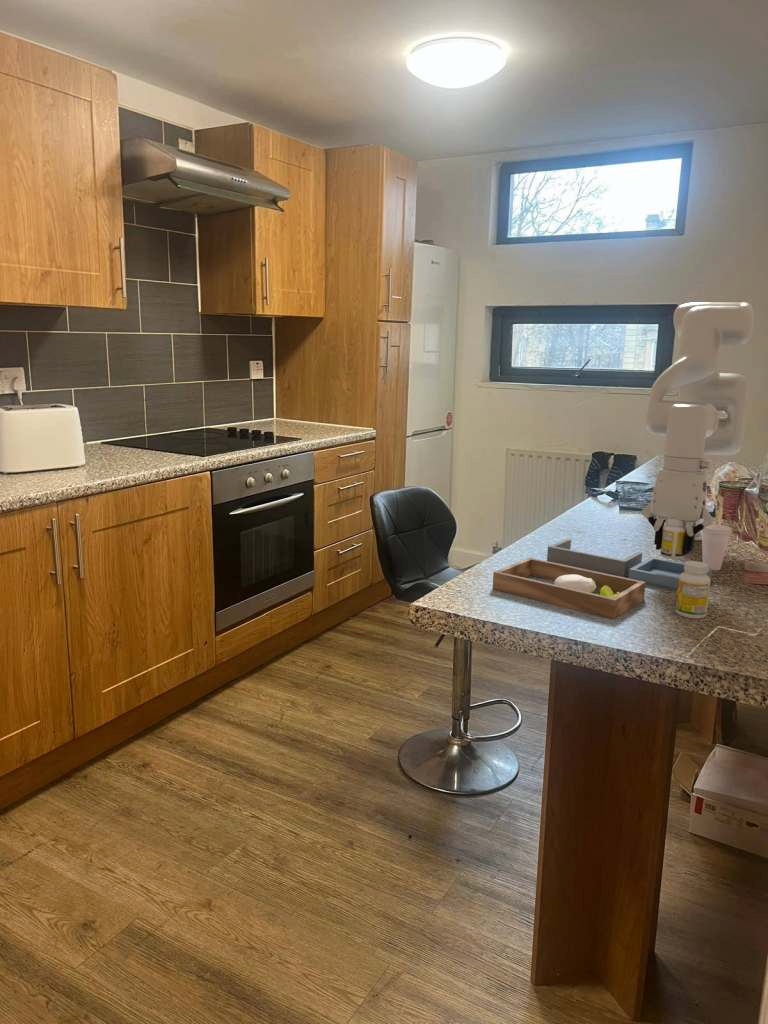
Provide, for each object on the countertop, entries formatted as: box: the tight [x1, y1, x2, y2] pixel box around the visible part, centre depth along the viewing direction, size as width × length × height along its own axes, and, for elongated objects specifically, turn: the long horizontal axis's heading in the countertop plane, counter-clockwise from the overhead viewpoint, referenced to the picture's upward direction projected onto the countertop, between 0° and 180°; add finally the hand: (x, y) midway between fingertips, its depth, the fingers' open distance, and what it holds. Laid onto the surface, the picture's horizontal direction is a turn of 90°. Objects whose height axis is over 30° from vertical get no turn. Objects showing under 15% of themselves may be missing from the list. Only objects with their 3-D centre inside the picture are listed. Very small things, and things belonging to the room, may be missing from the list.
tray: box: [627, 557, 713, 591], centre depth 155 cm, size 13×13×2 cm
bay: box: [546, 538, 643, 578], centre depth 165 cm, size 10×18×4 cm, turn 51°
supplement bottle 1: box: [660, 518, 687, 560], centre depth 153 cm, size 5×5×8 cm
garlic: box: [554, 574, 596, 593], centre depth 145 cm, size 8×7×4 cm
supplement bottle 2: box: [674, 560, 711, 619], centre depth 134 cm, size 5×5×10 cm
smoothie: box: [701, 507, 733, 571], centre depth 164 cm, size 6×6×14 cm
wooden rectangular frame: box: [492, 557, 647, 620], centre depth 144 cm, size 15×25×4 cm, turn 51°
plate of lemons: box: [595, 585, 620, 598], centre depth 141 cm, size 8×8×3 cm
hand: (673, 550), depth 154 cm, fingers closed on supplement bottle 1, 4 cm apart
